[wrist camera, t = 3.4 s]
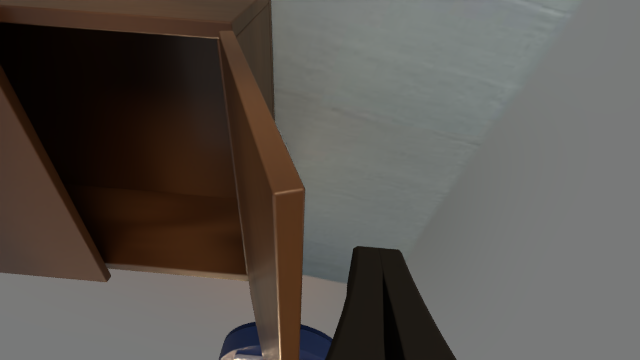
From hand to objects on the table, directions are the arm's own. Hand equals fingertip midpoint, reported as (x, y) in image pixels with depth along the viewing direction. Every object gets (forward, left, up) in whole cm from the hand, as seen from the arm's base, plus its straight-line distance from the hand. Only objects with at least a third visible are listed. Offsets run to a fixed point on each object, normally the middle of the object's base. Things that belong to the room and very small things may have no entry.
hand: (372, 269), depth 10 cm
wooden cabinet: (0, +12, -9) cm, 15 cm away
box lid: (0, +4, +1) cm, 4 cm away
